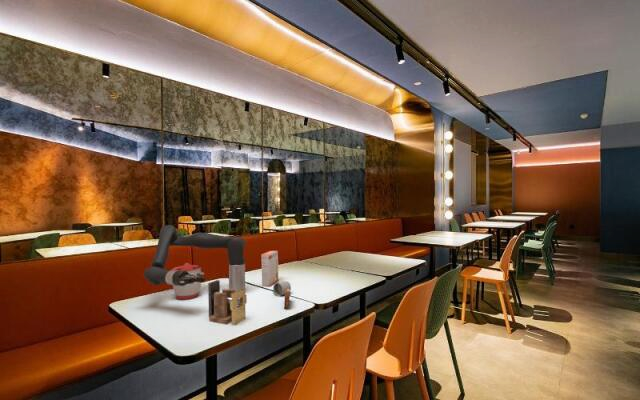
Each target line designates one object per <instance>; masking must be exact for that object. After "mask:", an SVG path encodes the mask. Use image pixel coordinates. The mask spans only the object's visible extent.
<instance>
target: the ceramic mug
mask: <svg viewBox="0 0 640 400" xmlns="http://www.w3.org/2000/svg"><path fill="white" fill-rule="evenodd" d="M285 288H290V291H291V290H292V286H291V283H290V282H289V281H278V282H276V283H275V284H273V290H272V293H273V294H274V295H275V296H277V297H281V296H285Z"/></svg>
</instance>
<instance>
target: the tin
mask: <svg viewBox="0 0 640 400" xmlns="http://www.w3.org/2000/svg"><path fill="white" fill-rule="evenodd" d="M290 296H291V290H290V288H285V294H284V303H283V304H284V306H283V308H285V309H286V308H287V309H289V308H290V298H291V297H290Z"/></svg>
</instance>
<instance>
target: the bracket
mask: <svg viewBox="0 0 640 400" xmlns="http://www.w3.org/2000/svg"><path fill="white" fill-rule="evenodd" d="M221 291H222V292H221ZM221 291H220V292H216V293H214V315H212V316H210V317H209V316H208V320H209V322H211V323H216V324H222V325H228V324H230V323H232V310H230V304H227V297H231V293H234V292H235V290H232V289H229V288H224V289H222V290H221Z"/></svg>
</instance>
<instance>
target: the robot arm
mask: <svg viewBox="0 0 640 400" xmlns="http://www.w3.org/2000/svg"><path fill="white" fill-rule="evenodd" d="M157 242H158V243H157V246H156V250H155V252H154V256H153V257H152V261H151V264H150V266H151V267H148V268H146V269H144V270H145V271H144V272H143V276H144V279H146V280H147V282H148V283H150V284H151V285H153V286H155V287H156V286H160V285H161V284H163V285H171V286H173V285H177V286H185V285H186V284H191V283H194V282H195V283H196V282H201V283H205V282H206V277H204V276H202V275H200V273H198V274H196V275H193V274H189V273H188V272H187V271H181V270H172V269H171V270H169V269H167V270H166V265H167V262H168V258H169V249H170V246H176V247H177V246H181V247H182V246H183V247H184V246H185V247H193V248H198V249H199V248H200V249H205V250H206V249H226V250H227V260H228V269H229V270H228V273H229V274H228V275H229V276H228V289H232V290H235V292H236V291H238V290H240V289H245V290H246V261H245V260H246V259H245V257H244V250H245V248H246V247H247V241H246V240H245V239H244V238H243V237H240V236H223V235H218V234H214V233H213V234H212V233H206V232H195V233H193V234H191V235H187V236H185V235H179V234H178V232H177V229H176V227H175V226H174V225H171V224H166V225H164V226H162V227H161V228H160V230H159V236H158V241H157Z"/></svg>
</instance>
